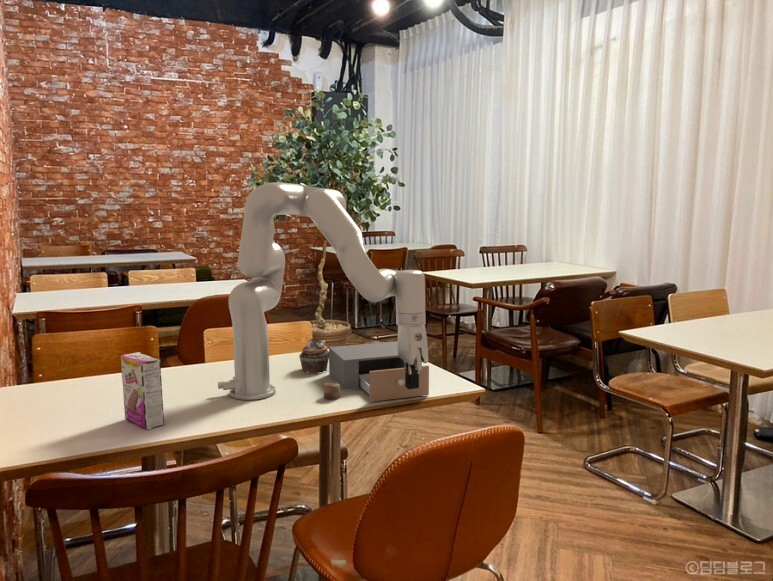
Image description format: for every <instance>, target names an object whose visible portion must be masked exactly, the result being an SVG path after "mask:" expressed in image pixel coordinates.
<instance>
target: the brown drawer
mask: <svg viewBox="0 0 773 581" xmlns="http://www.w3.org/2000/svg"><path fill="white" fill-rule="evenodd" d="M406 373H407V372H406ZM359 385H360V386H361V387H362V388H361V389H363V390H364V392H366V393H367V394H368V395H369V402H381V401H388V400H389V401H390V400H396V399H397V400H398V399H406V398H413V397H415V398H416V397H422V396H423V397H424V396H429V394H430V366H429V365H428V364H427V365H422V370H419V388H416V389H407V388H406V387H405V369H404V368H397V369H387V370H377V371H369V374H361V375H359Z"/></svg>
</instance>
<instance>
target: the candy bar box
mask: <svg viewBox="0 0 773 581" xmlns="http://www.w3.org/2000/svg"><path fill="white" fill-rule="evenodd" d="M120 365H121V366H120V367H121V368H120V369H121V378H122V380H121V381H122V394H123V404H124V405H123V406H124V408H123V409H124V419H125V420H126V421H128V422H131V424H134V425H136V426H138V427H140V428H142V429H143V430H146V429H148V430H150V429H149V428H152V429H154V428H153V427H155V428H157V427H156V426H158V427H160V426H159V425H162V426H164V425H165V418H164V417H165V416H164V402H163V401H164V400H163V399H164V398H163V397H164V396H163V385H162V370H161V368H162V367H161V359H159V358H155V357H153V356H149V355H147V354H145V353H141V352H139V351H138V352H133V353H132V352H131V353H127V354H123V355H120ZM163 424H164V425H163Z"/></svg>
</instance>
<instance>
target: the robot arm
mask: <svg viewBox="0 0 773 581" xmlns="http://www.w3.org/2000/svg"><path fill="white" fill-rule="evenodd" d="M243 209H244V210H243V221H242V229H241V233H240V236H241V237H240V243H239V250H238V259H237V266H238V270H239V272H241V274H242V275H244V276H245V277H247V278H251V279H250V280H248V281H247V280H246V281H243V282H241V283H239V284H237V285H236V286H234V287H233V288H232V290H231V291H230V293H229V295H228V310H229V313H230V318H231V323H232V324H231V326H232V340H233V365H234V376H232V379H229V380H227V381H218V382H217V389H218V390H222V389H223V391H228V390H229V396H230V397H231V398H233V399H236V400H243V401H244V400H245V401H252V400H253V401H255V400H261V399H266V398H269V397H271V396H273V395H274V394H275V393H276V387H275V385H273V384H271V382H270V381H271V380H270V353H269V352H270V349H269V348H270V347H269V343H270V342H269V328H268V323H267V320H266V316H265V312H267V311H271V310H272V309H273V308H276V306H277V305H278V303H279V302H280V299H281V296H282V292H283V291H282V289H283V283H284V277H285V275H284V274H285V269H286V257H285V252H284V250H283V248H282V247H281V246H280V245H279V244H278V243H277V242H274V236H275V221H274V218H275V216H285V215H287V216H288V215H289V216H291V215H295V216H302V217H308V218H310V219H311V221H312V222H313V223H314V225H315V227H316V228H317V229H318V230H319V231H320V232H321V234H322V235H323V237H324V238H325V239H326V240H327V242H328V243H329V244H330V246H331V247H332V248H333V250H334V251H335V254H336V257H337V259H338V261H339V264H340V267H341V268H342V270H343V272H344V273H345V274H344V275H345V276H346V277H347V278H348V280H349V281H350V283H351V284H352V286H353V287H354V288H355V289H356V291H357V292H358V293H359V294H360V295H361V296H362V298H364V299H365V300H367V301H368V302H371V303H372V302H373V303H378V302H381V301H383V300H386V299H388V298H390V297H395V318H396V319H395V321H396V323H395V324H396V326H397V341H398V355H399V357H400V358H401V359H402V361H403V362H404V369H405V387H406V388H407V389H416V388H419V370H422V366H423V364H427V363H429V348H428V337H427V336H428V335H427V330H426V322H427V321H426V283H425V282H426V279H425V276H426V275H425V274H424V272H423V271H421V270H418V269H405V270H397V269H396V270H395V269H390V268H379V269H378V268H377V267H376V266H375V264H374V263H373V261H371V259H370V257H369V255H368V254H367V252H366V250H365V248H364V244H363V233H362V229H361V228H360V227H359V225H358V224H357V223H356V222H355V221H354V220H353V218H352V217H351V216H350V214H349V212H347V201H346V198H345V197H344V196H343V194H342V192H340V191H339V190H336V189H333V188H332V189H331V188H322V187H317V186H310V185H304V184H297V183H289V182H281V181H280V182H278V181H277V182H275V181H274V182H268V183H263V184H261V185H258V186H257V187H255V188H254V189H253V190H251V192H250V193H249V195H248V196H247V197H246V200H245V203H244V207H243ZM421 362H422V363H421ZM406 372H407V373H406Z"/></svg>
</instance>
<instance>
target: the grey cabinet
mask: <svg viewBox="0 0 773 581" xmlns="http://www.w3.org/2000/svg"><path fill="white" fill-rule="evenodd" d="M328 352H329V360H328V364H329V365H328V367H329V368H328V371H329V372H328V373H329V376H330V377H331V378H332V379H333V380H334V381H335V383H338V384H340V388H341V389H343V390H344V391H349V390H359V389H360V390H361V389H363V388H362V387H361V386H360V385H359V375H361V374H369V371H377V370H387V369H397V368H404V362H403V361H402V359H401V358H400V357H399V355H398V340H397V341H396V340H395V341H386V342H383V343H372V344H365V343H363V344H361V343H360V344H351V345H340V346H339V345H338V346H337V345H336V346H329V347H328ZM421 363H422V364H423V362H421Z"/></svg>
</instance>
